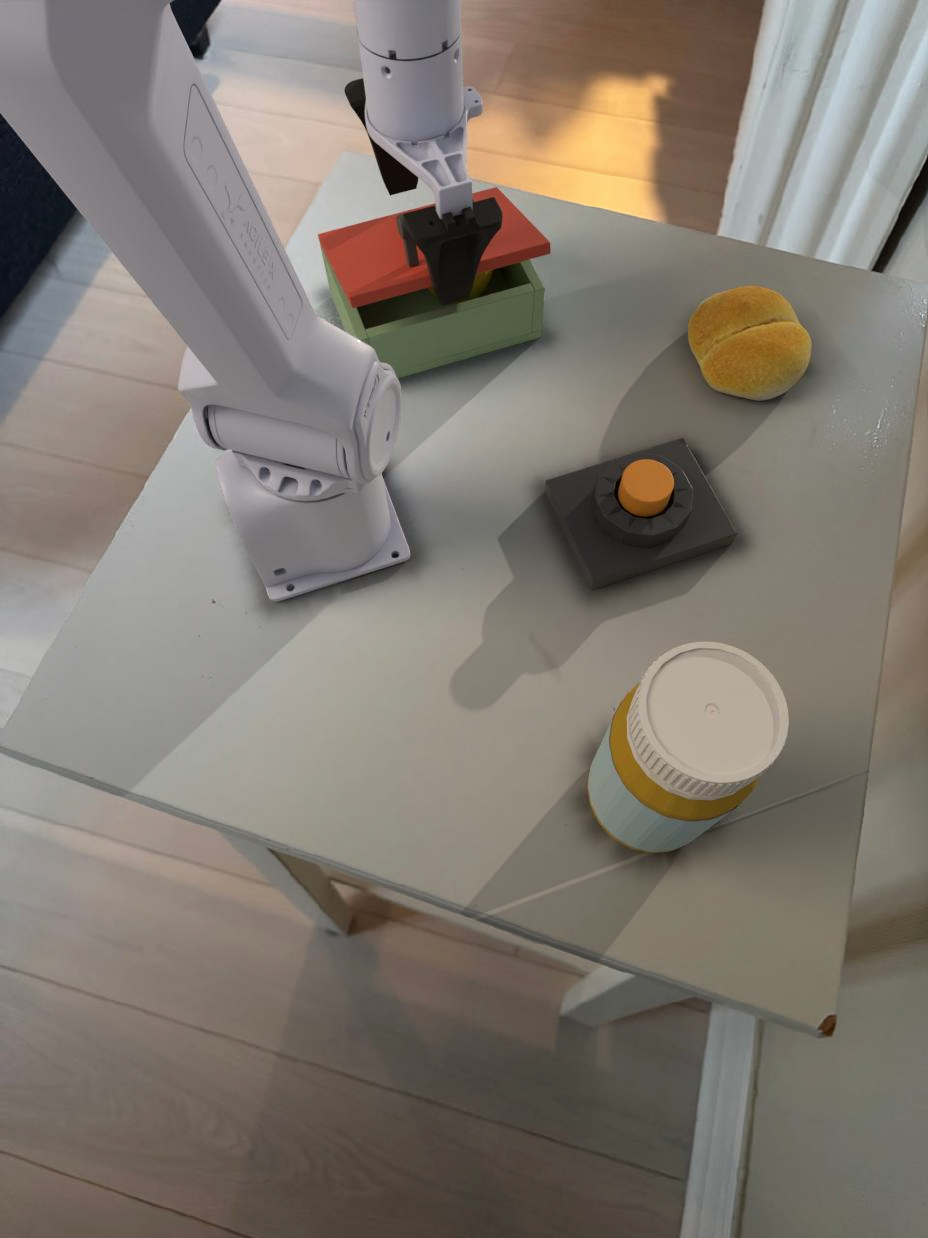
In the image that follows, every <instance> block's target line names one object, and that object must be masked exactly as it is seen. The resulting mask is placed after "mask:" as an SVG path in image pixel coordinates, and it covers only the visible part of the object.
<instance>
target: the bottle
mask: <svg viewBox="0 0 928 1238" xmlns="http://www.w3.org/2000/svg"><path fill="white" fill-rule="evenodd" d="M789 716H790V715H789V709H788V704H787V700H786V696H785V694H784V692H783V690H782V688H781V686H780V684H779V682H778V681H777V679H776V678H775V676H774V675H773V674H772V673H771V671H770V670H769V669H768V668H767V667H766V666H765V665H764V664H763V663H762V662H761V661H760V660H758V659H757V658H755V657H754V656H753V655H751V654H750V653H748V652H746V651H745V650H743V649H740V648H738V647H735V646H733V645H730V644H726V643H722V642H716V641H693V642H688V643H684V644H682V645H679V646H676V647H673V648H671V649H670V650H668V651H666V652H664V654H662V655H660V656H659V657H658V658H657V660H654V661H653V662H652V664H651V666H648V669H647V670H646V672H645V673H644V675H643V676H642V678H641V681H640V682H638V683H637V684H636V685H635V686H634V687H633V688H632V689H631V690H630V691H629V692H627V693H626V695H625V696H624V697H623V699H622V701H620V703H619V705H618V707H617V709H616V711H615V713H614V714H613V716H612V719H611V720H610V722H609V725H608V727H607V730H606V731H605V734H604V736H603V737H602V740H601V743H600V744H599V747H598V749H597V751H596V754H595V756H594V757H593V759H592V761H591V765H590V768H589V772H588V778H587V789H586V790H587V795H588V801H589V806H590V808H591V811H592V813H593V815H594V816H595V818H596V820H597V823H598V824H599V825H600V827H601V828H602V829H603V830H604V831H605V832H606V833H607V834H608V835H609V836H610V837H611V838H612V839H613V840H615V841H616V842H618V843H619V844H622V845H623V846H625V847H627V848H628V849H631V850H633V851H638V852H644V853H648V854H660V853H669V852H672V851H675V850H678V849H680V848H682V847H683V846H686V845H688V844H690V843H691V842H693V841H694V840H696V839H697V838H698V837H700V836H701V835H702V834H704V833H705V832H706V831H707V830H709V829H710V828H712V827H713V826H714V825H715V824H717V823H718V822H720V821H721V820H722V819H724V817H726V816H727V815H728V814H730V813H732V812H733V811H734V810H735V809H737V808H738V807H739V806H740V805H741V804H742V803H743V802H744V801H745V800H746V799H747V798H748V797H749V796H750V794H751V793H753V791H754V790H755V788H756V786H757V785H758V782H759V780H760V778H761V776H762V774H764V773H765V772H766V771H768V769H769V768H770V767H771V766H773V764H775V761H776V760H777V759H778V758H779V755H780V754H781V753H782V751H783V748H784V746H785V745H786V740H787V737H788V732H789V724H790V721H789V719H790V717H789Z"/></svg>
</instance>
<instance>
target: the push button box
mask: <svg viewBox="0 0 928 1238" xmlns="http://www.w3.org/2000/svg"><path fill="white" fill-rule="evenodd" d="M644 459H649V460H654V461H657V462H660V463H662V464H663V465H665V466H666V467H667V468H668V469H669V470H670V472H671V473H672V475H673V479H674V488H673V490H672V493H671V496H670V499H669V501H668V504H667V506H666V507H665V509H664V510H663V511H661V512H660V513H658V514H656V515H654V516H649V517H641V516H637V515H634V514H632V513H630V512H628V511H627V510H626V509H625V508H624V507H623V506H622V504H621V503H620V500H619V497H618V491H619V486H620V483H621V479H622V475H623V472H624V471H625V469H626V468H627V467H628V466H629V465H630V464H632V463H633V462H635V461H638V460H644ZM544 494H545V496H546V498H547V500H548V502H549V505H550V507H551V509H552V511H553V513H554V516H555V518H556V520H557V522H558V524H559V526H560V528H561V531H562V533H563V535H564V537H565V540H566V541H567V543H568V546H569V547H570V549H571V552H572V554H573V556H574V558H575V560H576V562H577V565H578V567H579V569H580V571H581V573H582V575H583V577H584V580H585V582H586V584H587V586H588V589H589V590H590V591H594V590H596V589H600V588H603V587H606V586H608V585H612V584H615V583H618V582H621V581H624V580H628V579H630V578H633V577H636V576H639V575H642V574H645V573H648V572H652V571H654V570H657V569H660V568H663V567H667V566H669V565H672V564H676V563H678V562H683V561H685V560H687V559H690V558H693V557H697V556H700V555H703V554H706V553H709V552H712V551H714V550H717V549H722V548H724V547H727V546H730V545H732V544H733V543H734V541H735V539H736V537H737V535H738V532H737V530H736V528H735V526H734V525H733V523H732V521H731V520H730V518H729V516H728V514H727V512H726V511H725V509H724V508H723V506H722V504H721V502H720V499H719V498H718V496H717V495H716V492H715V491H714V490H713V488H712V486H711V484H710V482H709V481H708V478H707V477H706V475H705V474H704V472H703V470H702V469H701V467H700V465H699V463H698V462H697V459H696V458H695V456H694V454H693V453H692V451H691V449H690V447H689V446H688V444H687V442H686V440H685V438H684V437H680V438H677V439H674V440H671V441H668V442H664V443H661V444H659V445H655V446H652V447H648V448H645V449H642V450H639V451H636V452H632V453H629V454H626V455H622V456H620V457H615V458H614V459H609V460H607V461H604V462H601V463H598V464H594V465H590V466H587V467H584V468H581V469H578V470H575V471H572V472H568V473H566V474H562V475H559V476H556V477H552V478H549V479H546V480H545V484H544Z"/></svg>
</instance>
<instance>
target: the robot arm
mask: <svg viewBox="0 0 928 1238" xmlns="http://www.w3.org/2000/svg"><path fill="white" fill-rule="evenodd" d="M173 2H174V0H0V115H1V116H2V118H4V120H5V121H6V122H7V123H8V125H9V126H10V127H11V128H12V130H13V131H14V132H15V133H16V134H17V136H18V137H19V138H20V139H21V141H22V142H23V143H24V145H25V146H26V147H27V148H28V149H29V151H30V152H31V153H32V155H33V156H34V157H35V159H37V161H38V162H39V163H40V164H41V166H42V167H43V168H44V169H45V171H46V172H47V173H48V175H50V177H51V178H52V179H53V180H54V182H55V183H56V184H57V185H58V187H59V188H60V189H61V190H62V192H63V193H64V195H66V197H67V198H68V199H69V200H70V202H71V203H72V205H74V207H75V208H76V209H77V211H78V212H79V213H80V214H81V216H82V217H83V218H84V219H85V220H86V222H87V223H88V224H89V225H90V227H91V228H92V230H94V232H95V234H97V235H98V237H99V238H100V239H101V241H102V242H103V244H105V246H107V248H108V249H109V250H110V251H111V253H112V254H113V255H114V256H115V258H116V259H117V261H118V262H119V263H120V264H121V265H122V267H123V268H124V269H125V271H127V273H128V274H129V275H130V277H131V278H132V279H133V281H135V283H136V285H138V286H139V288H140V289H141V290H142V292H143V293H144V294H145V296H146V297H147V298H148V299H149V300H150V302H151V303H152V304H153V305H154V306H155V308H156V309H157V310H158V311H159V313H160V314H161V315H162V317H163V318H164V319H165V320H166V321H167V323H168V324H169V325H170V326H171V328H172V329H173V330H174V332H175V333H176V334H177V335H178V336H179V337H180V339H181V341H182V342H183V343H184V344H185V345H186V347H185V350H184V354H183V357H182V361H181V366H180V371H179V376H178V383H177V390H178V392H179V393H180V395H182V397H184V399H185V400H186V402H187V403H188V404H189V406H190V409H191V415H192V417H193V418H192V419H193V422H194V424H195V426H196V430H197V432H198V434H199V436H200V438H201V439H202V441H203V442H204V444H205V445H207V446H208V447H210V448H212V449H215V450H219V451H224V452H225V451H228V450H229V452H227V453H225V454H222V455H220V456H219V457H216V458H215V461H214V463H215V468H216V473H217V477H218V481H219V484H220V487H221V491H222V494H223V497H224V500H225V505H226V506H227V510H228V513H229V515H230V517H231V520H232V523H233V525H234V528H235V530H236V533H237V535H238V537H239V539H240V541H241V544H242V545H243V547H244V549H245V552H246V553H247V555H248V557H249V559H250V560H251V562H252V564H253V566H254V568H255V570H256V572H257V574H258V575H259V577H260V579H261V581H262V583H263V585H264V588H265V590H266V594H267V596H268V598H269V600H270V601H272V602H274V603H276V602H277V603H279V602H282V601H284V600H287V599H291V598H294V597H297V596H300V595H303V594H306V593H309V592H313V591H317V590H319V589H322V588H325V587H328V586H331V585H335V584H338V583H342V582H344V581H348V580H351V579H354V578H357V577H360V576H363V575H367V574H369V573H372V572H376V571H379V570H382V569H386V568H388V567H391V566H394V565H398V564H401V563H404V562H406V561H408V560H409V559H410V558H411V549H410V547H409V544H408V541H407V539H406V536H405V534H404V531H403V528H402V525H401V522H400V520H399V517H398V514H397V512H396V509H395V506H394V504H393V501H392V498H391V495H390V493H389V490H388V488H387V485H386V482H385V480H384V478H383V474H382V473H383V472H384V471H385V469H386V468H387V466H388V464H389V462H390V460H391V458H392V455H393V453H394V450H395V446H396V443H397V439H398V435H399V432H400V431H399V430H400V425H401V418H402V411H403V410H402V408H403V393H402V386H401V382H400V380H399V378H397V377H396V375H395V372H394V370H393V368H392V367H391V366H390V365H389V364H387V363H381V362H380V361H379V359H378V357H377V355H376V352H375V350H374V349H373V348H372V347H371V346H370V345H368V344H366V343H364V342H363V341H361V340H359V339H358V338H356V337H354V336H352V335H351V334H349V333H347V332H345V331H344V329H341V328H340V327H338V326H336V325H334V324H333V323H331V322H329V321H327V320H325V319H324V318H322V317H320V316H319V315H317V313H316V311H315V310H314V307H313V306H312V303H311V301H310V299H309V297H308V295H307V293H306V290H305V288H304V287H303V285H302V282H301V280H300V278H299V276H298V274H297V272H296V270H295V268H294V265H293V263H292V260H291V259H290V257H289V255H288V253H287V251H286V249H285V247H284V245H283V242H282V239H281V238H280V235H279V234H278V232H277V230H276V228H275V226H274V224H273V221H272V219H271V218H270V215H269V213H268V210H267V209H266V207H265V205H264V202H263V199H262V198H261V196H260V194H259V192H258V190H257V188H256V185H255V183H254V181H253V180H252V177H251V175H250V173H249V171H248V168H247V167H246V164H245V163H244V160H243V158H242V155H240V152H239V150H238V147H237V146H236V143H235V141H234V140H233V137H232V135H231V133H230V131H229V129H228V126H227V124H226V123H225V121H224V118H223V117H222V114H221V112H220V110H219V108H218V105H217V103H216V102H215V99H214V97H213V95H212V93H211V91H210V88H209V86H208V85H207V83H206V81H205V78H204V76H203V74H202V72H201V69H200V67H199V66H198V64H197V61H196V60H195V57H194V56H193V53H192V51H191V49H190V47H189V45H188V43H187V41H186V38H185V36H184V35H183V32H182V30H181V28H180V26H179V24H178V22H177V19H176V17H175V15H174V13H173V10H172V7H171V3H173ZM352 5H353V10H354V11H353V12H354V19H355V20H354V21H355V27H356V34H357V35H356V36H357V42H358V43H357V44H358V49H359V57H360V65H361V71H362V78H358V79H354V80H352V81H350V82H348V83H347V84H346V85H345V87H344V95H345V97H346V99H347V101H348V104H349V106H350V107H351V109H352V111H354V113H355V115H356V116H357V117H358V119H359V120H360V122H361V123H362V126H363V127H364V129H365V132H366V134H367V137H368V139H369V143H370V145H371V148H372V151H373V153H374V158H375V160H376V164H377V167H378V170H379V173H380V176H381V179H382V181H383V184H384V186H385V188H386V190H387V192H388V195H389V196H394V195H397V194H402V193H406V192H409V191H412V190H416V189H417V188H418V183H419V180H421V181H422V182H423V183H424V184H425V185H426V186H427V187H428V188H429V189H430V190H431V191H432V193H433V195H434V201H435V202H434V203H435V205H436V207H434V206H431V207H427V208H423V209H419V210H415V211H412V212H408V213H404V214H403V220H404V222H405V224H406V226H407V228H408V231H409V233H410V235H411V237H412V239H413V240H414V242H415V243H416V245H417V246H418V248H419V249H420V250H421V252H422V253H423V254H424V257H425V259H426V263H427V266H428V271H429V274H430V277H431V280H432V284H433V289H434V292H435V294H436V296H437V299H438V301H439V303H440V305H442V306H443V305H447V304H451V303H454V302H458V301H462V300H465V299H468V298H469V296H470V293H471V290H472V287H473V284H474V280H475V276H476V273H477V269H478V266H479V263H480V260H481V258H482V255H483V253H484V251H485V249H486V248H487V246H488V244H489V243H490V241H491V240H492V238H493V237H494V236H495V235H496V233H497V232H498V231H499V230H500V229H501V227H502V220H503V213H502V210H501V208H500V206H499V205H498V203H497V201H496V199H495V197H491V198H488V199H484V200H480V201H476V202H472V193H473V180H472V178H471V176H470V174H469V170H468V167H467V166H468V165H467V164H468V122H469V121H470V119H473V118H477V117H480V116H481V115H482V114H483V113H484V102H483V99H482V96H481V95H480V94H479V91H478V90H477V89H476V88H475V87H474V86H471V85H467V86H464V71H463V69H464V67H463V66H464V65H463V64H464V63H463V29H462V0H352ZM394 555H398V556H397V557H393V556H394ZM291 588H293V590H289V589H291Z"/></svg>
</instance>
